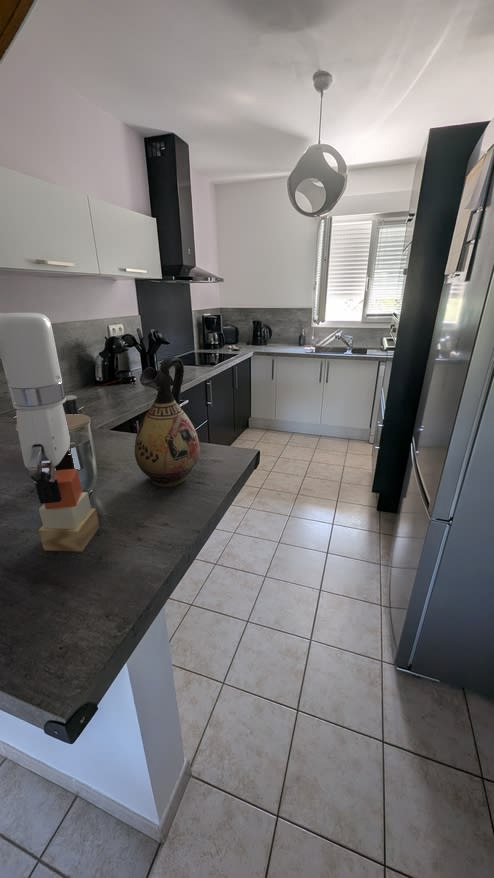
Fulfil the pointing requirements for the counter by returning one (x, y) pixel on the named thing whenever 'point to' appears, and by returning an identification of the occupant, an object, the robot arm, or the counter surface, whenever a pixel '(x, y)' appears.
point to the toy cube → (67, 488)
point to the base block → (70, 535)
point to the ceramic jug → (166, 429)
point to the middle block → (66, 514)
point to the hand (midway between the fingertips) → (59, 487)
